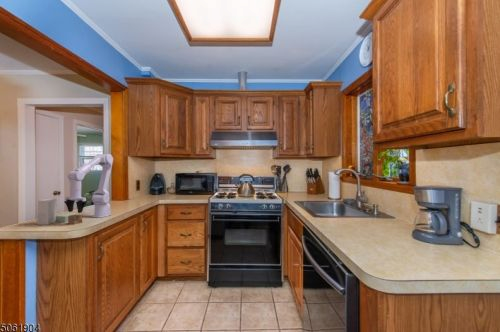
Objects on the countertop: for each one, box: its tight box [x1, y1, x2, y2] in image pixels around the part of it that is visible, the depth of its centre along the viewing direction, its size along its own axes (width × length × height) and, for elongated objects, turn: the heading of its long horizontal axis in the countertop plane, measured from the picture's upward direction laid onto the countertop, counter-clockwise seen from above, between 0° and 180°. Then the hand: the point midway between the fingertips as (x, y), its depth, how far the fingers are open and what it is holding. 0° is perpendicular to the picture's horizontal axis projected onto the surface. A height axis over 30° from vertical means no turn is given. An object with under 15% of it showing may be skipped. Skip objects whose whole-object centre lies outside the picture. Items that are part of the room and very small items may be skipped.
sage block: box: [55, 212, 81, 223], centre depth 158 cm, size 10×10×4 cm
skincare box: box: [37, 198, 58, 226], centre depth 149 cm, size 8×6×15 cm
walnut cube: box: [67, 213, 83, 225], centre depth 150 cm, size 5×5×5 cm
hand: (75, 212), depth 150 cm, fingers open, 7 cm apart
